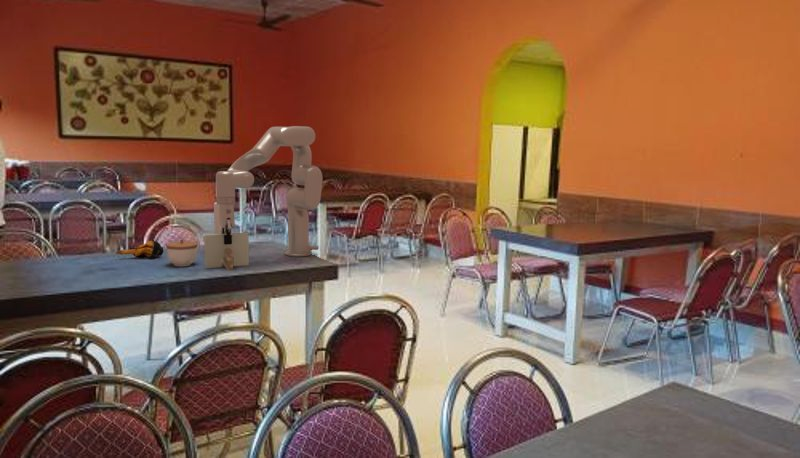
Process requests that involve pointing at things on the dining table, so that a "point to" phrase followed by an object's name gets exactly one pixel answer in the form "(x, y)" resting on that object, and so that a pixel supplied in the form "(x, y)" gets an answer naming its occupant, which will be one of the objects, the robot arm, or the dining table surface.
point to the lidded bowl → (181, 252)
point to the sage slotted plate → (217, 248)
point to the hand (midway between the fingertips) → (226, 242)
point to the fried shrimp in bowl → (145, 250)
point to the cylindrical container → (216, 219)
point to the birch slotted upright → (228, 259)
